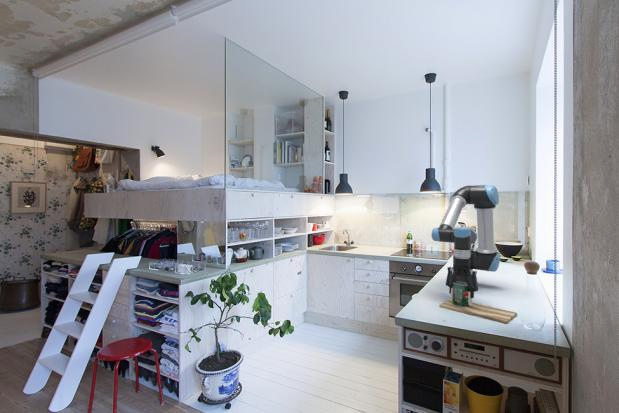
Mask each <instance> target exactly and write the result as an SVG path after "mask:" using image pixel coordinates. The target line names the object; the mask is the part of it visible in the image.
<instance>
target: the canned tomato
mask: <svg viewBox="0 0 619 413" xmlns="http://www.w3.org/2000/svg"><path fill="white" fill-rule="evenodd" d="M469 291H470V289H469V287H468V284H467V282H462V281H456V282H453V305H455V306H458V307H469V306H470V305H468V292H469Z"/></svg>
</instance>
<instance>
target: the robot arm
mask: <svg viewBox="0 0 619 413" xmlns="http://www.w3.org/2000/svg"><path fill="white" fill-rule="evenodd" d="M499 199H500V196H499V192H498V189H497V187H496V186H495V185H491V184H479V185H477V184H476V185H465V186H463V187H460V188H458V189H457V190H455V192H453V194H452V195H451V196H450V199H449V205H448V206H447V209H446V212H445V214H444V216H443V218H442V219H441V222H440V224H439V227H434V228H432V230H431V238H432V241H434V242H439V243H452V244H453V245H454V246H453V254H452V257H453V258H452V264H453V265H452V266H448V267H446V268H447V276H446V282H445V286H446V287H448V289H449V291H448V292H449V294H450V299H451V301H453V282H456V281H462V282H467V284H468V287H469V289H470V291H469V292H468V305H471V304H472V303H473V299H474V297H475V292H478V291H479V285H478V278H477V273H478V272H477V270H479V271H485V272H497V271H498V269H499V267H500V266H499V265H500V261H501V254H500V253H499V252H498V249H497V248H496V247H495V244H494V243H495V240H494V209H496V207H497V205H499V202H500V200H499ZM467 205H473V209H474V210H476V222H477V223H476V224H477V225H476V226H477V232H476V231H475V230H474V229H471V228H470V227H466V226H456V225H457V222H458V220H459V217H460V215H461V213H462V211H463V208H465V207H466V206H467ZM455 226H456V227H455ZM476 241H477V247H476V248H475V250H474V248H473V247H471V245H473V244H474V243H475V242H476Z"/></svg>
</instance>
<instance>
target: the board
mask: <svg viewBox="0 0 619 413" xmlns="http://www.w3.org/2000/svg"><path fill="white" fill-rule="evenodd" d="M439 308H443V309H446V310H451V311H455V312H458V313H462V314H466V315H470V316H473V317H477V318H481V319H484V320H485V319H486V320H489V321H493V322H497V323H500V324H501V323H502V324H505V325H507V324H508V323H510V322H511V321H512V320H513V319H514V318H516V317H517V316H518V313H517V312H515V311H510V310H506V309H501V308H498V307H493V306H489V305H486V304H485V305H484V304H481V303H476V302H472V304H471V305H470V306H469V307H458V306H455V305H453V301H451V298H450V299H448V300H446V301H445V302H441V303H440V304H439Z"/></svg>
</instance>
